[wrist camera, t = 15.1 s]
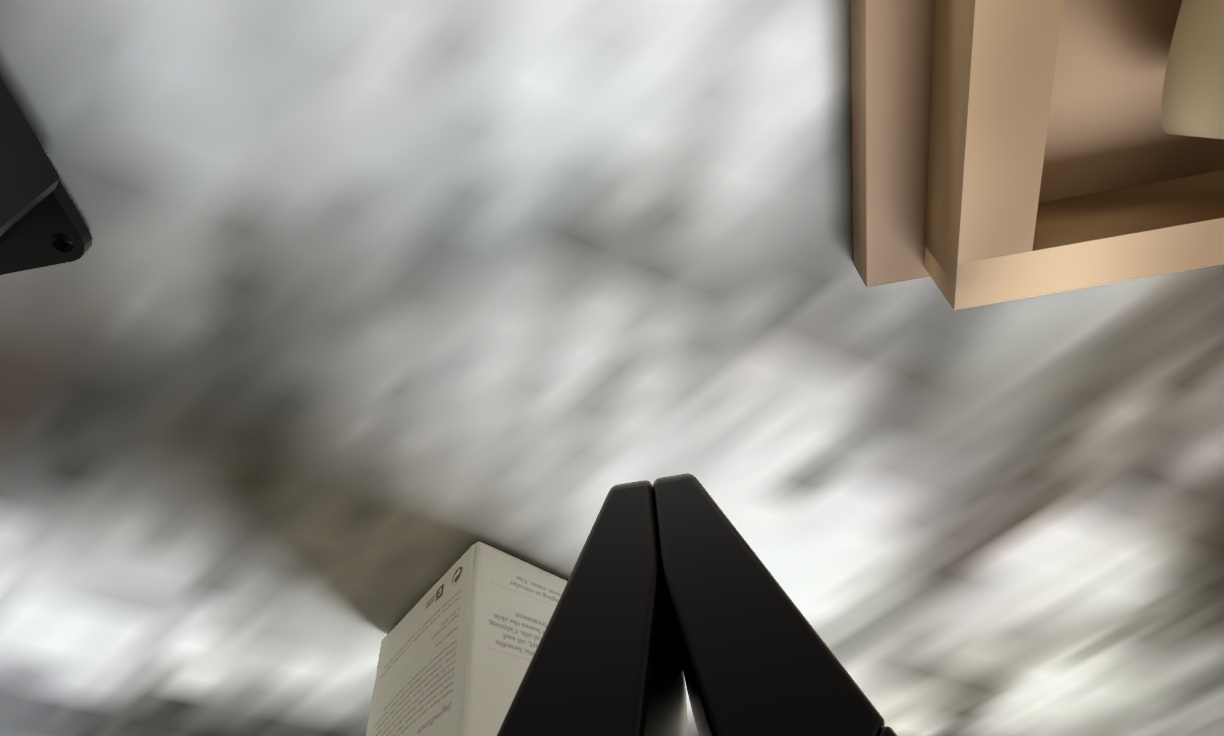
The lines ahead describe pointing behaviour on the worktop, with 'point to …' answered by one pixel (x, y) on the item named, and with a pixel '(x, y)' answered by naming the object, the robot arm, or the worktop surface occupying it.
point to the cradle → (1023, 148)
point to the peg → (1195, 72)
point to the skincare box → (463, 648)
